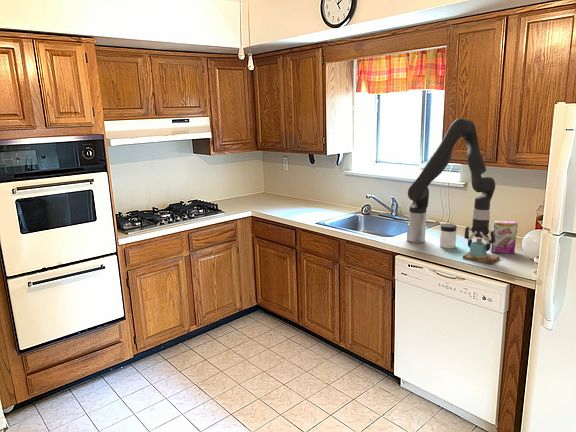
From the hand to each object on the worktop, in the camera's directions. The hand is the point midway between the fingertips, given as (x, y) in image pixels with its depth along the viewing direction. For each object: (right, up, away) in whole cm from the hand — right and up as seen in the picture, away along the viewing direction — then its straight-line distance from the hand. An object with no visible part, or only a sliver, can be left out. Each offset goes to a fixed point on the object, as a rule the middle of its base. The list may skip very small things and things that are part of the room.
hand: (478, 248), depth 220 cm
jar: (-8, 0, +21) cm, 23 cm away
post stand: (+1, -5, 0) cm, 5 cm away
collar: (0, -3, +1) cm, 3 cm away
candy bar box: (+16, -3, +9) cm, 19 cm away
